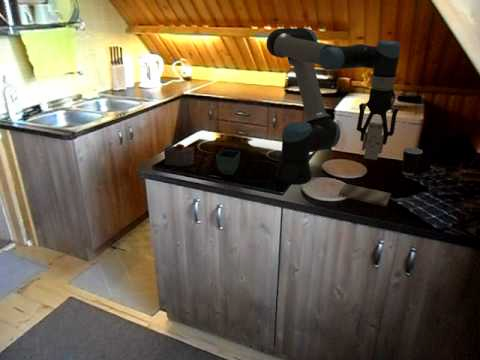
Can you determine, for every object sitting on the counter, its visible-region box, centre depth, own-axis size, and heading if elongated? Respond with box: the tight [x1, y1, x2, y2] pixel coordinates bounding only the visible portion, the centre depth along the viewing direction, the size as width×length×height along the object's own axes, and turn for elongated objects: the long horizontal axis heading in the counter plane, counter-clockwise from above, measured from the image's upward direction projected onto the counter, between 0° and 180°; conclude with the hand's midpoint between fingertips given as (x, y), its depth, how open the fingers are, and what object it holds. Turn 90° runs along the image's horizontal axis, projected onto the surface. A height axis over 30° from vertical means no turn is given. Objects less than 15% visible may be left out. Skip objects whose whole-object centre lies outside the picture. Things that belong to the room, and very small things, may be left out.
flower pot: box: [215, 149, 241, 176], centre depth 169 cm, size 9×9×9 cm
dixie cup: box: [401, 146, 423, 176], centre depth 170 cm, size 8×8×11 cm
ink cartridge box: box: [363, 119, 383, 161], centre depth 141 cm, size 9×5×15 cm, turn 161°
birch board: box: [338, 183, 392, 207], centre depth 151 cm, size 18×10×1 cm, turn 61°
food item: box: [163, 143, 195, 168], centre depth 177 cm, size 14×8×10 cm, turn 83°
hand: (371, 150), depth 143 cm, fingers closed on ink cartridge box, 5 cm apart
